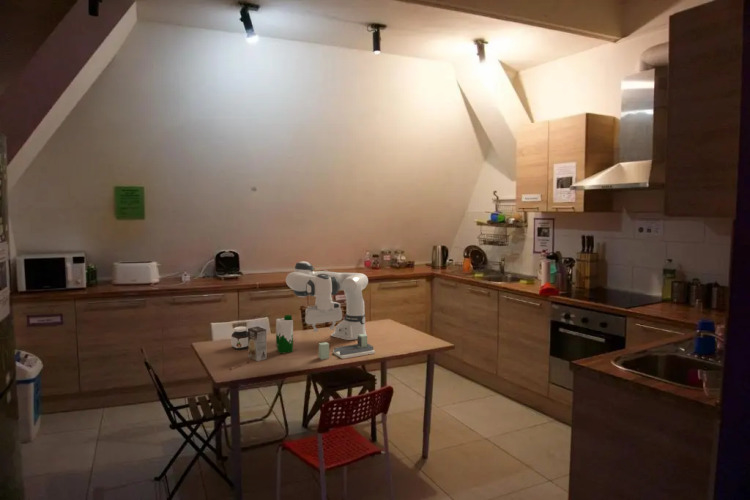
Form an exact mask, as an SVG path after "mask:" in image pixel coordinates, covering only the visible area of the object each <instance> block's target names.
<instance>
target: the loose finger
mask: <svg viewBox="0 0 750 500" xmlns="http://www.w3.org/2000/svg"><path fill="white" fill-rule="evenodd" d="M318 358H319V359H320V360H321V361H323V360H327V359H330V343H329V342H327V341H326V342H325V341H324V342H319V343H318Z"/></svg>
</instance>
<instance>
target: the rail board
mask: <svg viewBox="0 0 750 500" xmlns="http://www.w3.org/2000/svg"><path fill="white" fill-rule="evenodd" d="M332 354H334V355H335V356H337V357H339V358H340V359H342V360H343V359H349V358H356V357H361V356H363V357H364V356H369V355H375V354H376V350H374V345H372V344H370V343H368V335H365V334H359V335H358V339H357V343H355V344H349V345H343V346H337V347H333V350H332ZM368 354H369V355H368Z"/></svg>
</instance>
